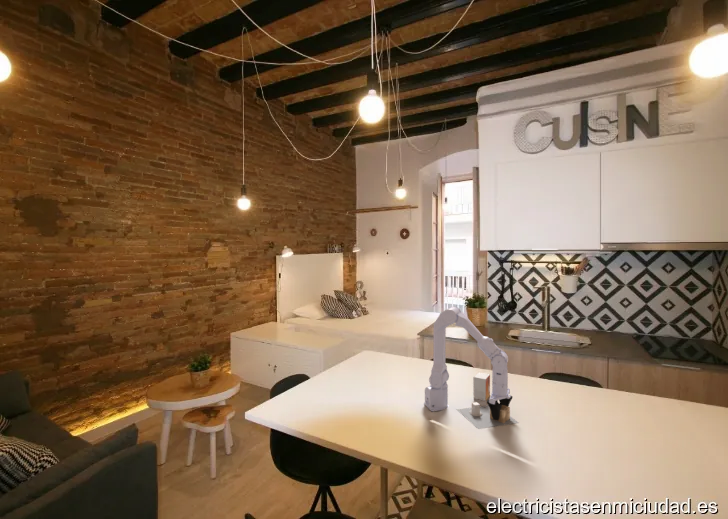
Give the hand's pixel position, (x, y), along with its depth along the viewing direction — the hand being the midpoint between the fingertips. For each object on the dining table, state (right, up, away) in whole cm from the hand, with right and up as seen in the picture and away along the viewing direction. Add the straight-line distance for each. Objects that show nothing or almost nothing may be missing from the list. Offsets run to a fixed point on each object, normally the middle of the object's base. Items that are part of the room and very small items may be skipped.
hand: (499, 416), depth 132 cm
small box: (0, -2, +21) cm, 21 cm away
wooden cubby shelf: (0, -1, 0) cm, 1 cm away
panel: (-5, -2, +2) cm, 5 cm away
